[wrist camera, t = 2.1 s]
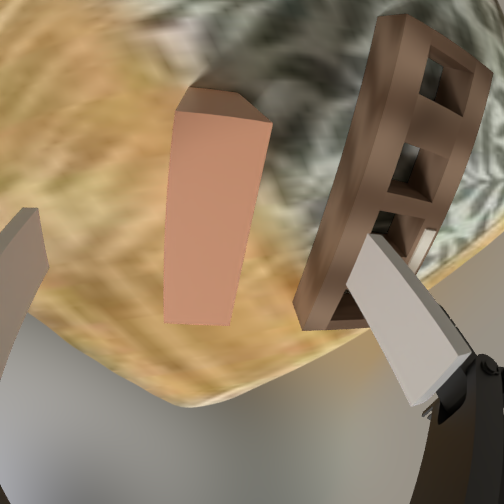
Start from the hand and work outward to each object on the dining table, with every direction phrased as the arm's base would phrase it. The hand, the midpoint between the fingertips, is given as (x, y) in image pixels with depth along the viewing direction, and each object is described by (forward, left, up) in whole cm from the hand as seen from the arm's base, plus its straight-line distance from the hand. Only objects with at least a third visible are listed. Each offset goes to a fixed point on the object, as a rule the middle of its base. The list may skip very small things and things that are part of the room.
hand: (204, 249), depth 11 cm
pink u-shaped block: (0, 0, -10) cm, 10 cm away
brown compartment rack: (0, +14, -10) cm, 17 cm away
